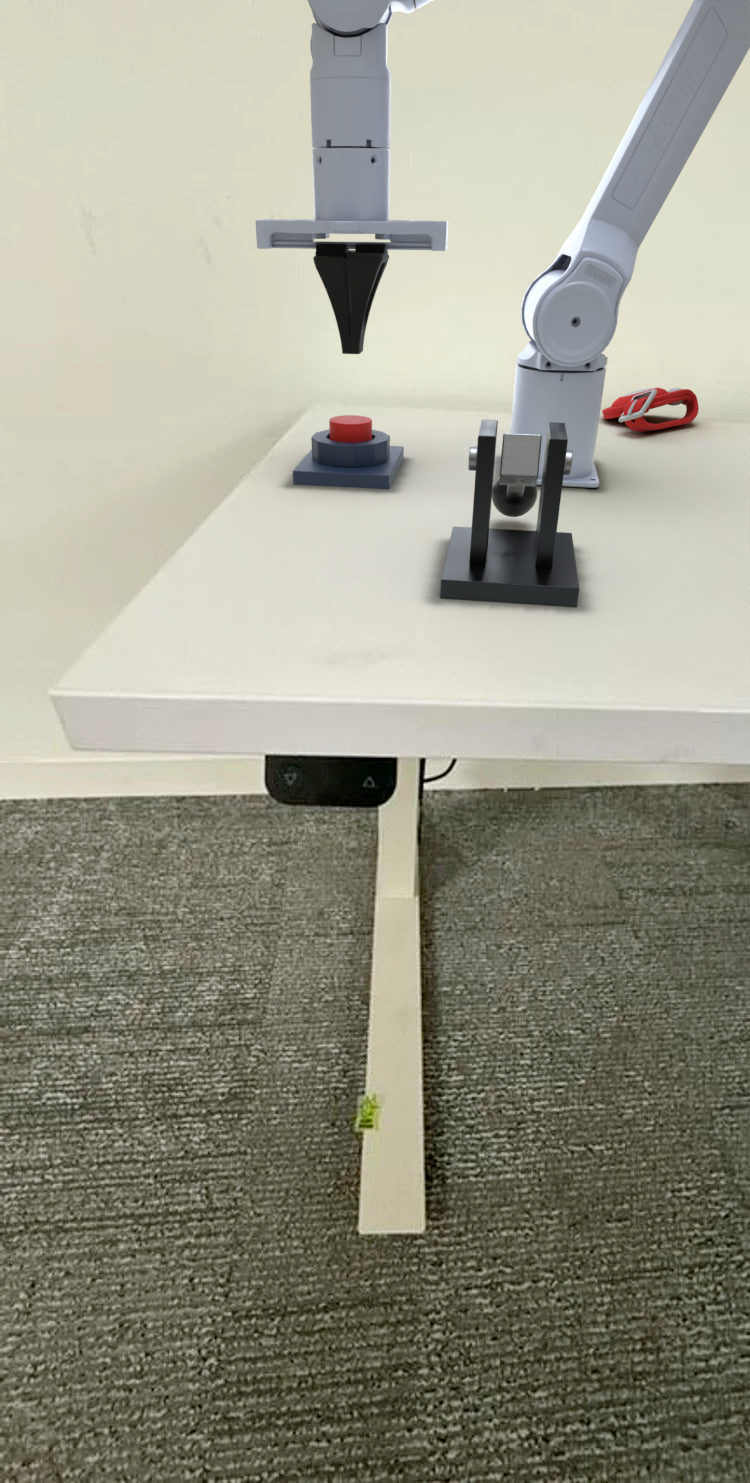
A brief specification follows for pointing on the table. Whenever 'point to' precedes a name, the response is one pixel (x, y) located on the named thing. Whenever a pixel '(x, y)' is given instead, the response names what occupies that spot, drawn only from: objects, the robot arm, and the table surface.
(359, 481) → the box
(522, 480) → the lever
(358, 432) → the button
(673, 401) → the red strap with buckle
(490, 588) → the bracket
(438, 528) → the table surface
